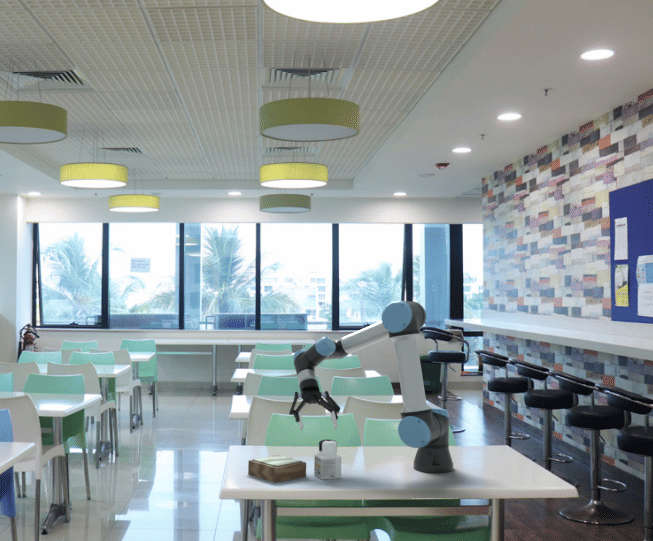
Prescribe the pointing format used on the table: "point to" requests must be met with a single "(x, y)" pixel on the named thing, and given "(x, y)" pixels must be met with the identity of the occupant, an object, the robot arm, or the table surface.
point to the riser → (277, 468)
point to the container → (327, 461)
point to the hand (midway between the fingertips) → (319, 427)
